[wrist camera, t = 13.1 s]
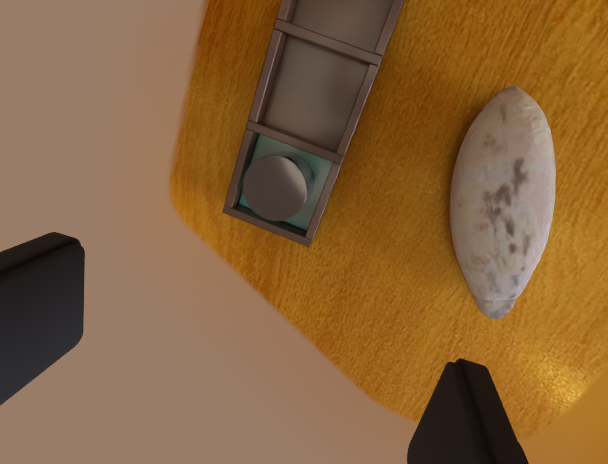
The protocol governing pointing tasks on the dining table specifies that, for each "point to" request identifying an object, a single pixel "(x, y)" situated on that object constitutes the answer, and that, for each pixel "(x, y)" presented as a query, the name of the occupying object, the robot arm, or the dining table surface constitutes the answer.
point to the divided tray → (313, 98)
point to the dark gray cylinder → (278, 185)
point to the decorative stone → (503, 199)
